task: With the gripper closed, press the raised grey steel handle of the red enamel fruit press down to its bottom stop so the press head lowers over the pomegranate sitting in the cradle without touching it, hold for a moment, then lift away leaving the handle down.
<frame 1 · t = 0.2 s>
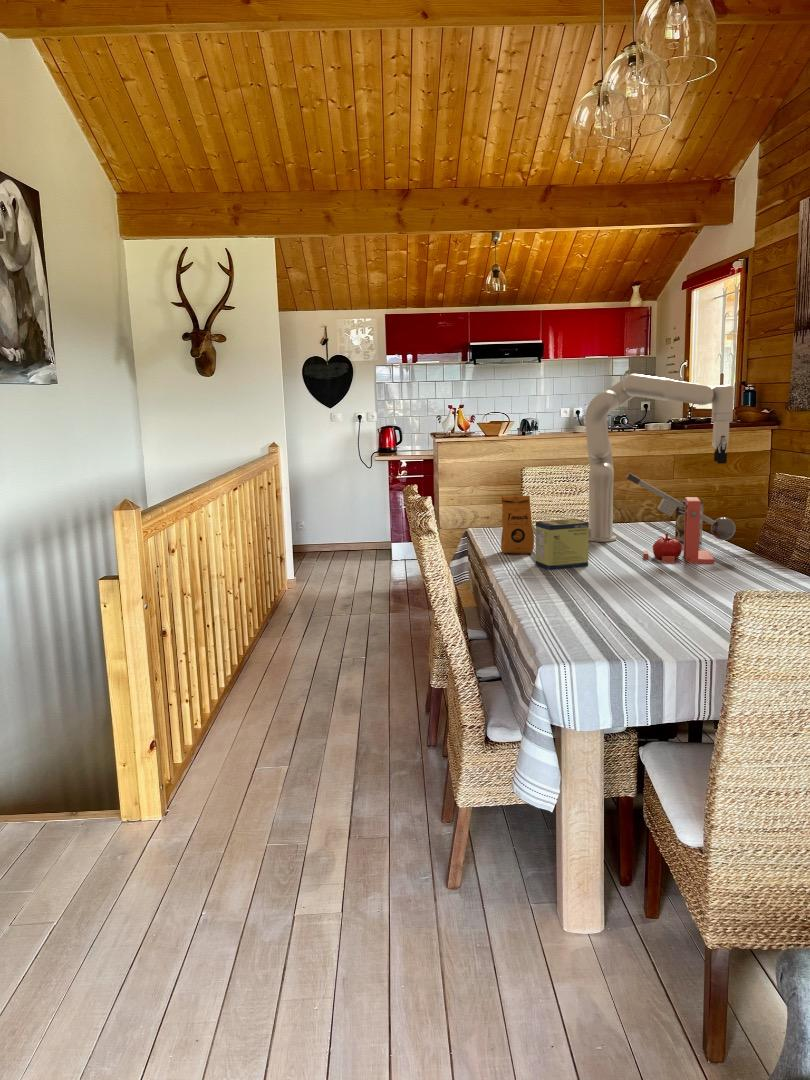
hand: (720, 462, 305), 31 cm above the table, tool pointing down, fingers open, 9 cm apart
protein box: (561, 566, 275), on the table
coffee box: (688, 541, 314), on the table
coffee package: (517, 553, 300), on the table
pomegranate: (667, 558, 282), on the table
press stand: (690, 558, 280), on the table
lever: (679, 505, 278), point 19 cm above the table, hinge at 30.0°
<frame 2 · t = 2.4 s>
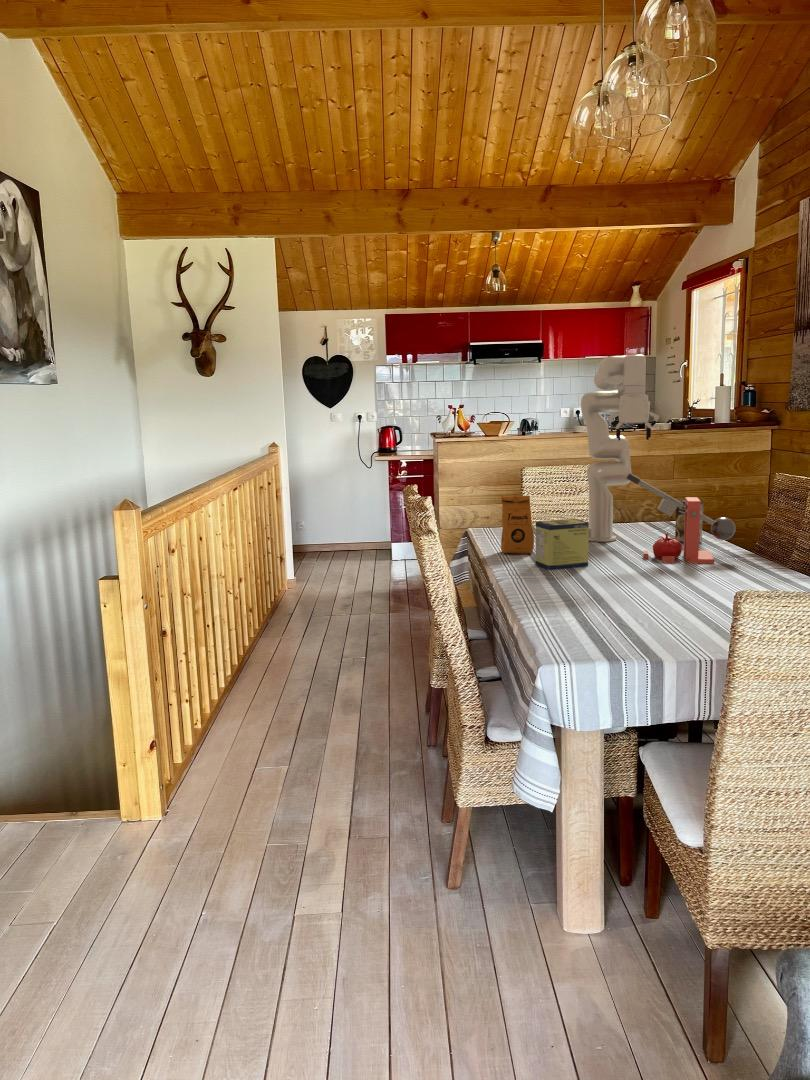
hand: (633, 440, 279), 42 cm above the table, tool pointing down, fingers open, 9 cm apart
nothing on the table moved.
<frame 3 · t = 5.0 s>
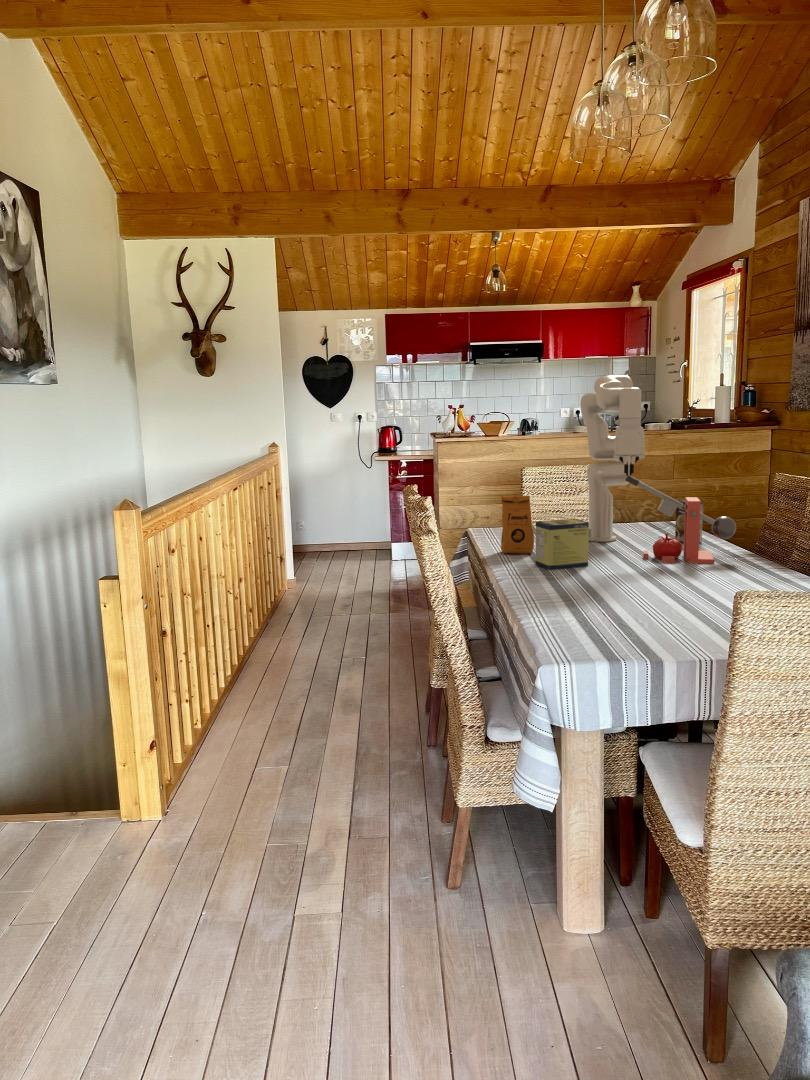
hand: (628, 475, 280), 30 cm above the table, tool pointing down, fingers closed
lever: (679, 506, 278), point 19 cm above the table, hinge at 28.1°, touching gripper
everything else where it was.
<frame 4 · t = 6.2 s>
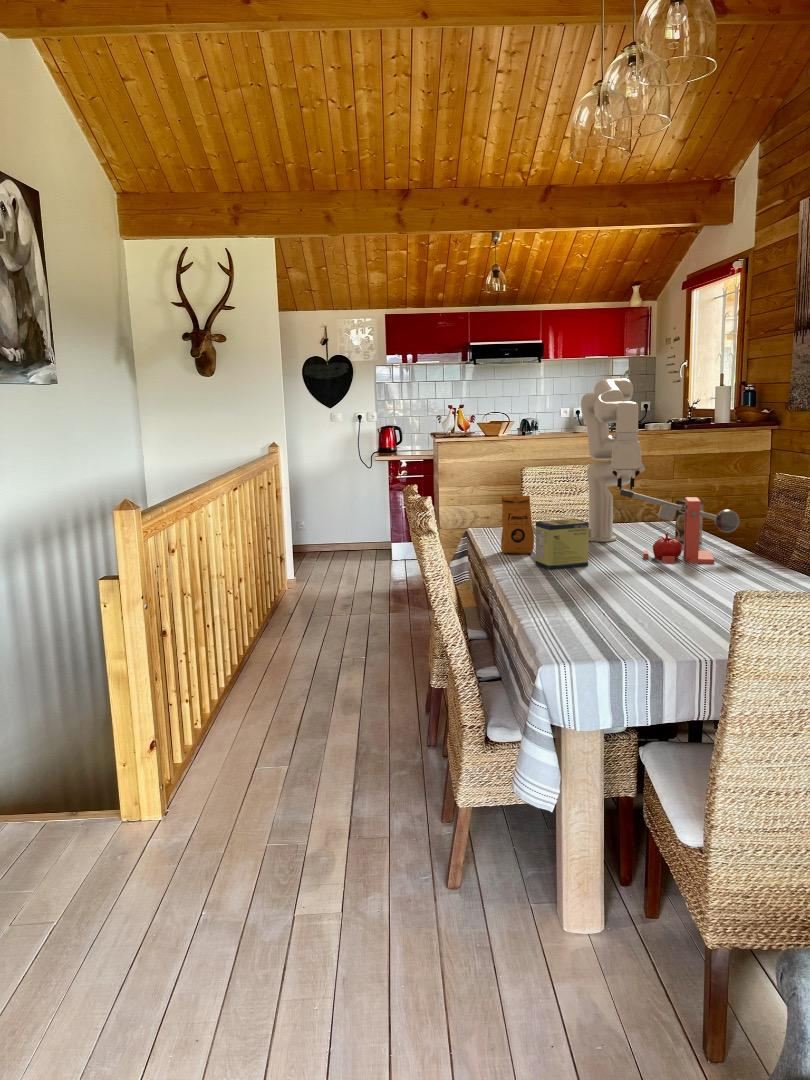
hand: (625, 488, 281), 25 cm above the table, tool pointing down, fingers open, 3 cm apart
lever: (678, 508, 278), point 18 cm above the table, hinge at 16.0°, touching gripper
everything else where it was.
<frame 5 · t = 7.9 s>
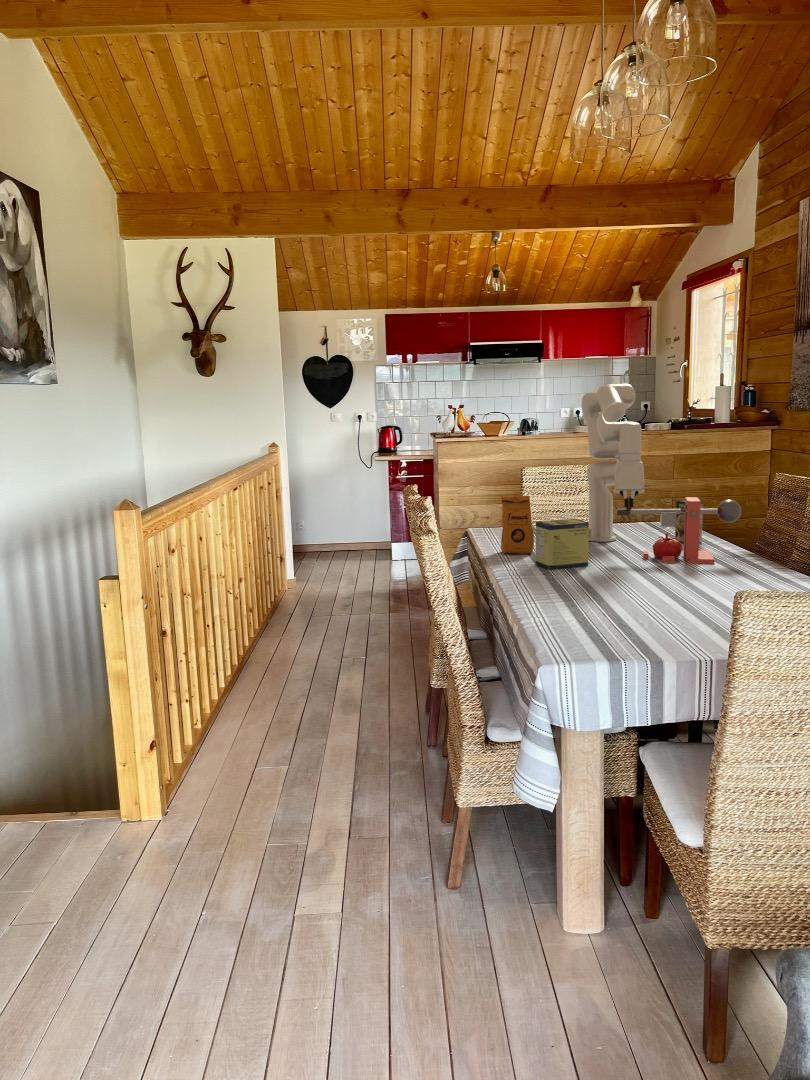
hand: (628, 509, 282), 18 cm above the table, tool pointing down, fingers closed
lever: (678, 512, 278), point 16 cm above the table, hinge at -0.9°, touching gripper
everything else where it was.
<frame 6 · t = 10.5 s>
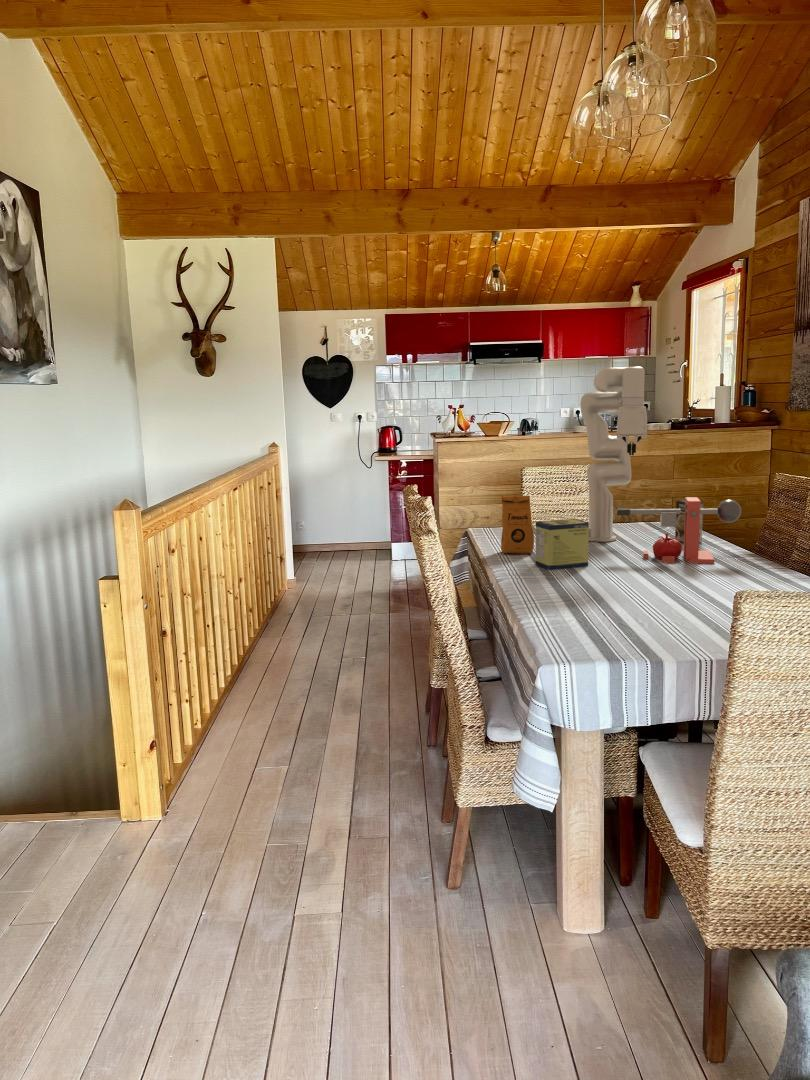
hand: (631, 454, 280), 37 cm above the table, tool pointing down, fingers closed
lever: (678, 512, 278), point 16 cm above the table, hinge at -0.9°
everything else where it was.
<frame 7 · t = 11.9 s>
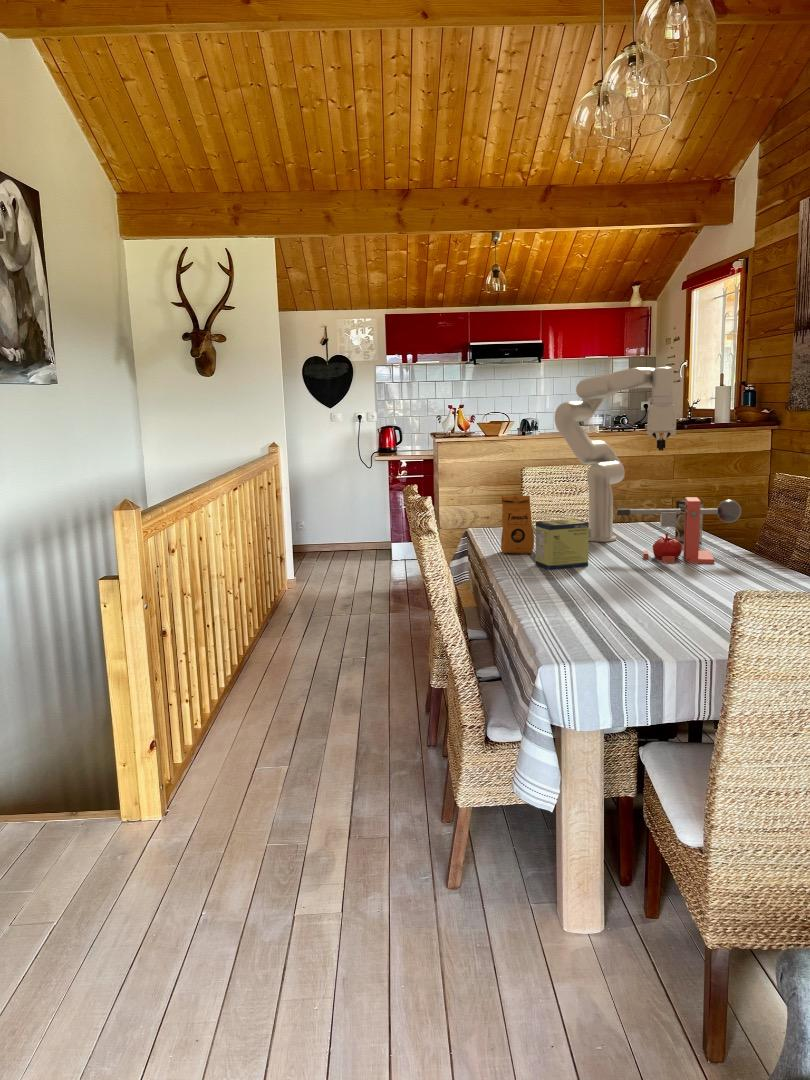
hand: (660, 450, 297), 37 cm above the table, tool pointing down, fingers closed
nothing on the table moved.
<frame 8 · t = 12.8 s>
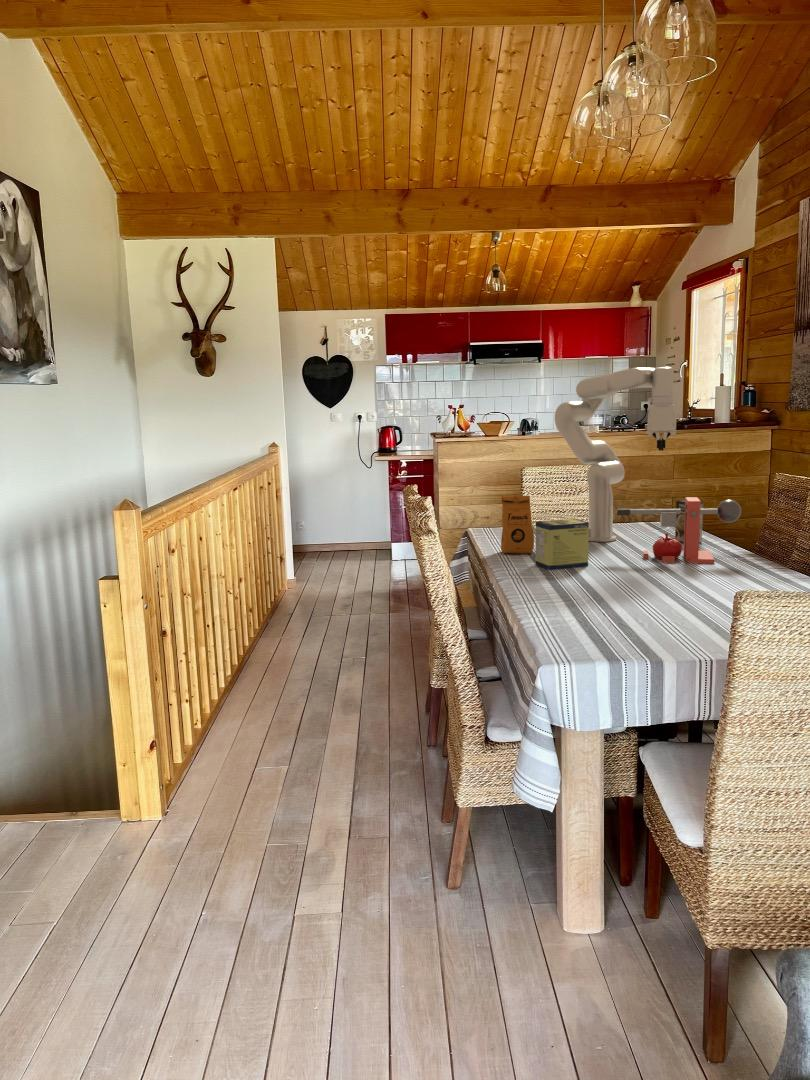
hand: (660, 450, 297), 37 cm above the table, tool pointing down, fingers closed
nothing on the table moved.
at the end: lever at -1° (first picture: +30°); lever touching nothing; pomegranate moved 0.3 cm from its start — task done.
